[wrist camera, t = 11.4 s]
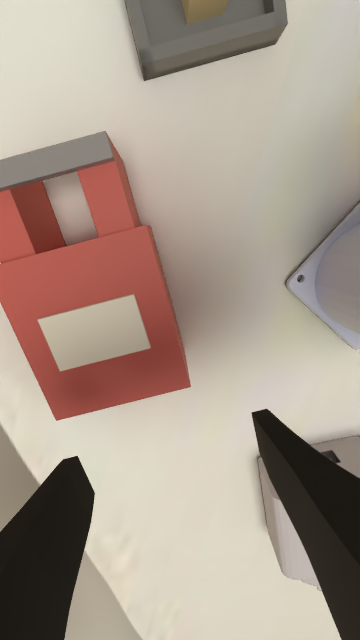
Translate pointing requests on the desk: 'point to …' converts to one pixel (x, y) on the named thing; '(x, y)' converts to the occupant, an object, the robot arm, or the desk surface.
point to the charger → (287, 545)
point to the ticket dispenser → (86, 285)
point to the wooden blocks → (202, 9)
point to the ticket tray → (200, 33)
